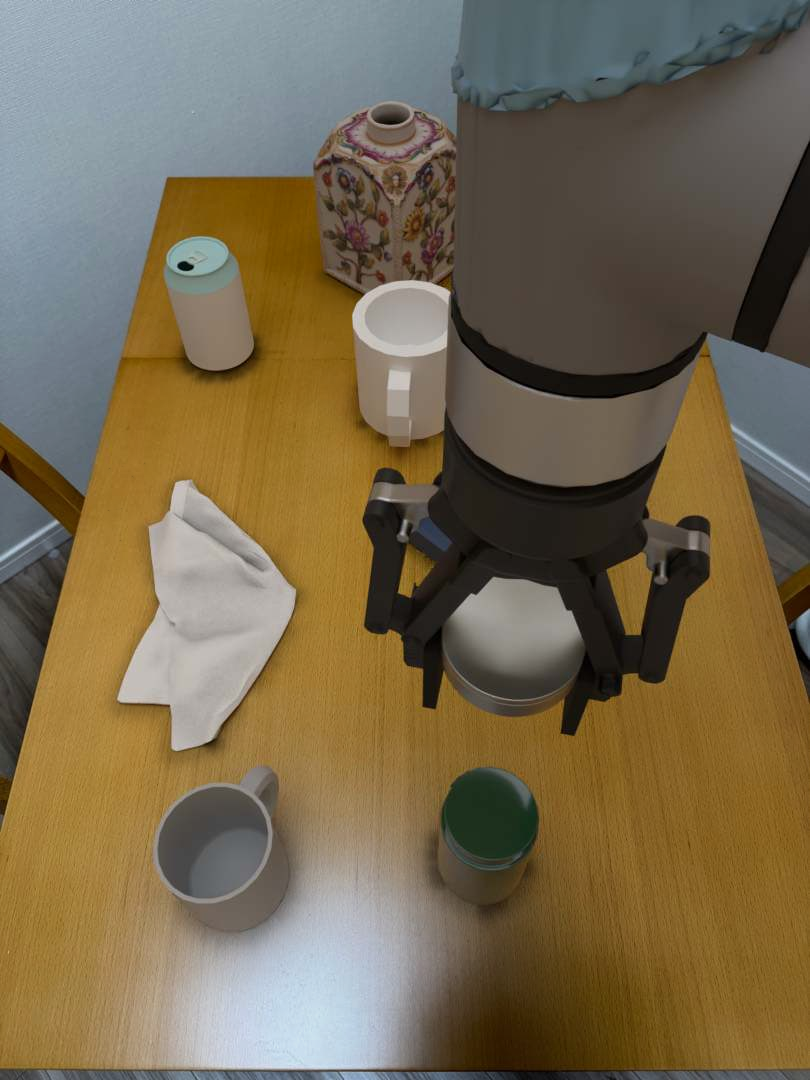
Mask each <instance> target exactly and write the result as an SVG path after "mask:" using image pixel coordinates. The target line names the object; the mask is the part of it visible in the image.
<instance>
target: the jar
mask: <svg viewBox="0 0 810 1080" xmlns="http://www.w3.org/2000/svg"><path fill="white" fill-rule="evenodd" d="M539 812H540V811H539V806H538V804H537V801H536V798H535V796H534V793H533V792H532V790H531V789H530V788H529V787H528V784H526V783H525V782H524V781H523V780H522V779H521V778H519V776H517V775H516V774H514V773H512V772H510V771H508V770H507V769H505V768H499V767H494V766H479V767H475V768H472V769H468V770H467V771H465V772H463V773H462V774H461V775H458V776H457V777H456V778H455V780H454V781H453V782H452V783H451V784H450V789H449V790H448V793H447V795H446V796H445V798H444V800H443V803H442V805H441V809H440V819H439V833H438V844H437V845H438V847H437V866H438V871H439V874H440V877H441V879H442V881H443V883H444V884H445V886H446V887H447V888H448V890H449V891H450V892H451V893H452V894H453V895H454V896H456V897H457V898H459V899H460V900H462V901H464V902H466V903H468V904H473V905H477V906H487V905H493V904H497V903H499V902H501V901H503V900H505V899H507V898H508V897H509V896H510V895H511V894H513V892H514V891H515V890H516V889H517V888H518V886H519V884H520V882H521V880H522V877H523V875H524V872H525V870H526V868H527V865H528V862H529V860H530V857H531V855H532V852H533V850H534V847H535V844H536V842H537V839H538V835H539V824H540V813H539Z"/></svg>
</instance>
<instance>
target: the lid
mask: <svg viewBox="0 0 810 1080" xmlns="http://www.w3.org/2000/svg"><path fill="white" fill-rule="evenodd" d="M585 655H586V647H585V644H584V642H583V639H582V637H581V634H580V631H579V629H578V626H577V624H576V621H575V619H574V616H573V613H572V611H567V610H566V609H565V606H564V604H563V601H562V599H561V596H560V593H559V591H558V588H556V587H550V586H544V585H541V584H538V583H534V582H531V581H528V580H524V579H503V578H497V577H493V578H492V579H491V580H490V581H489V582H488V583H487V584H486V586H485V587H484V588H483V589H482V590H481V591H480V592H479V593H478V594H477V595H474V594H470V595H469V596H468V597H467V598H466V600H465V601H464V602H463V603H462V604H461V605H460V606H459V607H458V608H457V609H456V611H455V612H454V613H453V614H452V615H451V616H450V617H449V618H448V619H447V621H446V622H445V623H444V624H443V625H442V627H441V648H440V656H441V662H442V666H443V669H444V672H443V673H444V674H445V676H446V678H447V680H448V682H449V683H450V685H451V686H452V687H453V689H454V690H455V691H456V692H457V693H458V695H459V696H460V697H462V698H463V699H464V700H465V701H467V702H468V703H469V704H470V705H472V706H474V707H476V708H478V709H479V710H481V711H483V712H486V713H490V714H492V715H496V716H500V717H508V718H523V717H531V716H535V715H538V714H541V713H543V712H547V711H548V710H550V709H552V708H554V707H556V706H557V705H558V704H559V703H561V702H562V701H564V698H565V697H566V696H567V695H568V694H569V692H570V691H571V689H572V688H573V687H574V685H575V683H576V681H577V678H578V676H579V673H580V670H581V667H582V664H583V661H584V658H585Z"/></svg>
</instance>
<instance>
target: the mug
mask: <svg viewBox="0 0 810 1080" xmlns="http://www.w3.org/2000/svg"><path fill="white" fill-rule="evenodd" d="M450 293H451V291H449V290H448V289H447V288H445V287H444V286H443V287H442V286H440V285H438V284H432V283H429V282H422V281H415V280H408V281H395V282H392V283H388V284H384V285H381V286H379V287H377V288H375V289H373V290H371V291H370V292H368V293H366V294H365V295H364V294H363V296H362V297H361V298H360V299H359V300H358V301H357V303H356V305H355V307H354V309H353V312H352V314H351V316H352V317H351V319H352V330H353V344H354V354H355V355H354V356H355V367H356V368H355V369H356V380H357V389H358V390H357V393H358V405H359V412H360V414H361V416H362V418H363V420H364V422H365V423H366V424H368V426H370V427H371V428H372V429H373V430H374V431H375V432H377V433H380V434H382V435H383V436H386V437H387V439H388V446H389V447H399V448H401V447H402V448H410V447H411V441H412V440H424V439H426V438H430V437H433V436H435V435H439V434H440V433H442V432H444V415H445V409H446V402H445V381H446V355H447V328H448V302H449V295H450Z"/></svg>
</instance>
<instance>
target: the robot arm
mask: <svg viewBox="0 0 810 1080" xmlns="http://www.w3.org/2000/svg"><path fill="white" fill-rule="evenodd" d="M462 2H463V3H462V12H461V22H460V31H459V33H460V34H459V43H458V52H457V53H456V54H455V56H454V58H455V61H454V62H453V64H452V66H451V69H450V70H451V71H450V75H451V77H450V79H451V84H450V85H451V87H452V93H453V94H455V95H456V135H455V138H456V180H455V225H454V268H453V270H452V272H451V273H450V274H451V277H450V279H451V280H450V281H451V282H450V292H451V293H450V295H449V302H448V328H447V355H446V381H445V402H446V409H445V415H444V430H443V439H442V440H443V442H442V469H441V471H440V472H439V473H437V475H436V476H435V478H434V479H433V482H432V483H433V484H432V483H430V484H427V483H425V484H423V483H421V484H420V483H411V484H410V483H407V481H406V480H405V477H404V475H403V474H402V472H400V471H399V470H397V469H395V468H392V467H381V468H379V469H377V470H376V472H375V475H374V477H373V481H372V485H371V489H370V492H369V496H368V499H367V503H366V505H365V508H364V511H363V515H362V519H361V521H362V525H363V527H364V530H365V531H366V534H367V536H368V537H369V540H370V543H371V545H372V547H373V551H372V559H371V566H370V574H369V581H368V591H367V598H366V605H365V612H364V613H365V614H364V622H363V627H364V629H365V630H366V631H367V632H368V633H371V634H374V635H386V634H388V633H389V630H390V631H392V632H395V633H397V634H398V635H399V636H400V640H401V642H402V655H403V656H402V657H403V658H402V659H403V661H402V662H403V663H404V664H405V665H406V666H407V667H408V668H409V667H411V668H414V669H415V668H416V669H421V670H422V704H421V705H422V708H425V709H430V710H435V711H436V710H437V705H438V701H439V696H440V692H441V686H442V682H443V677H444V673H445V672H444V669H443V666H442V662H441V656H440V648H441V627H442V625H443V624H444V623H445V622H446V621H447V619H448V618H449V617H450V616H451V615H452V614H453V613H454V612H455V611H456V609H457V608H458V607H459V606H460V605H461V604H462V603H463V602H464V601H465V600H466V598H467V597H468V596H469V595H470V594H474V595H477V594H478V593H479V592H480V591H481V590H482V589H483V588H484V587H485V586H486V584H487V583H488V582H489V581H490V580H491V579H492V578H493V577H497V578H503V579H524V580H528V581H531V582H534V583H538V584H541V585H544V586H550V587H556V588H558V591H559V593H560V596H561V599H562V601H563V604H564V606H565V609H566V610H567V611H572V613H573V616H574V619H575V621H576V624H577V626H578V629H579V631H580V634H581V637H582V639H583V642H584V644H585V647H586V655H585V658H584V661H583V664H582V667H581V670H580V673H579V676H578V678H577V681H576V683H575V685H574V687H573V688H572V689H571V691H570V692H569V694H568V695H567V696H566V697H565V698H564V699H563V707H562V717H561V723H560V724H561V725H560V735H566V736H571V737H575V736H576V733H577V731H578V728H579V726H580V723H581V721H582V718H583V716H584V713H585V710H586V708H587V705H588V703H589V701H590V700H591V701H595V702H602V703H606V702H607V701H609V700H611V699H612V698H616V697H619V696H621V695H622V693H623V692H622V691H623V679H624V676H626V675H631V674H637V677H638V679H639V680H640V681H642V682H644V683H648V684H652V685H655V684H660V683H662V682H665V680H666V677H667V673H668V670H669V667H670V663H671V659H672V655H673V651H674V648H675V645H676V640H677V636H678V633H679V629H680V625H681V621H682V619H683V618H682V617H683V614H684V611H685V607H686V603H687V601H688V599H689V598H690V597H691V596H692V595H693V594H694V593H696V591H697V590H698V589H700V588H701V587H702V586H703V585H704V584H705V583H706V582H707V581H708V580H709V578H710V577H711V521H710V520H709V519H708V518H707V517H704V516H702V515H697V514H694V515H687V516H684V517H683V518H681V519H680V520H679V521H678V522H677V523H676V524H675V525H674V524H670V523H668V522H664V521H661V520H657V519H655V518H651V517H650V510H649V508H648V506H647V503H648V501H649V498H650V496H651V492H652V490H653V486H654V484H655V481H656V479H657V476H658V474H659V471H660V468H661V465H662V463H663V459H664V457H665V453H666V450H667V446H668V442H669V441H670V439H671V437H672V434H673V431H674V428H675V426H676V423H677V421H678V418H679V415H680V412H681V409H682V406H683V404H684V401H685V397H686V395H687V393H688V389H689V386H690V384H691V380H692V378H693V375H694V371H695V369H696V366H697V363H698V361H699V358H700V355H701V352H702V350H703V345H704V343H705V342H706V340H707V337H708V334H709V335H713V336H715V337H717V338H720V339H723V340H725V341H729V342H733V343H736V344H739V345H743V346H745V347H748V348H751V349H754V350H757V351H759V353H763V354H764V353H767V354H770V355H773V356H776V357H778V358H781V359H784V360H786V361H789V362H792V363H795V364H797V365H800V366H802V367H806V368H809V369H810V0H463V1H462ZM426 518H430V519H431V521H432V522H433V523H434V524H435V525H436V526H437V527H438V528H439V529H440V530H441V531H442V532H443V533H444V534H445V535H446V536H447V537H448V539H449V540H450V541H451V542H452V544H451V545H450V546H449V548H448V549H447V550H446V551H445V553H444V554H443V555H442V557H441V558H440V559H439V560H438V562H437V563H436V562H435V564H434V565H433V567H432V568H431V570H429V572H428V573H427V574H426V576H424V578H423V579H422V581H420V583H419V585H417V583H416V582H414V583H413V587H412V591H411V595H410V596H407V595H404V594H402V593H399V591H400V586H401V585H400V584H401V579H402V574H403V569H404V563H405V558H406V553H407V547H408V543H409V542H408V541H409V539H410V535H411V533H414V532H417V531H418V530H419V529H420V526H421V522H422V520H423V519H426ZM641 553H643V554H645V556H646V558H645V559H646V561H645V564H646V568H647V570H649V572H651V573H652V574H651V578H650V584H649V588H648V592H647V593H648V594H647V598H646V603H645V608H644V613H643V618H642V623H641V628H640V634H627V631H626V628H625V626H624V622H623V618H622V616H621V612H620V609H619V605H618V602H617V599H616V597H615V596H616V595H615V593H614V589H613V587H612V583H611V580H610V576H609V574H608V570H609V569H611V568H613V567H616V566H618V565H620V564H623V563H624V562H627V561H628V560H631V559H633V558H634V557H636V556H638V555H639V554H641Z"/></svg>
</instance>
